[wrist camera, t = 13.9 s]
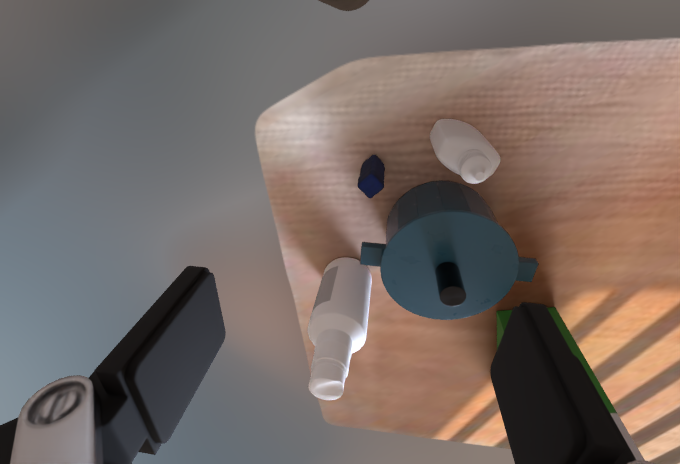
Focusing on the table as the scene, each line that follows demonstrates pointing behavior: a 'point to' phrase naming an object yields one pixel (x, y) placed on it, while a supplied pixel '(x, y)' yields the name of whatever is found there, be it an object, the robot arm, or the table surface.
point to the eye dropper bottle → (464, 150)
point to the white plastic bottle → (338, 324)
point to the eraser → (371, 176)
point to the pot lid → (449, 264)
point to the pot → (433, 200)
